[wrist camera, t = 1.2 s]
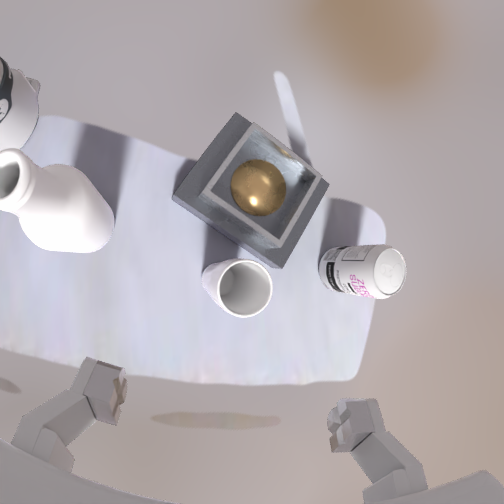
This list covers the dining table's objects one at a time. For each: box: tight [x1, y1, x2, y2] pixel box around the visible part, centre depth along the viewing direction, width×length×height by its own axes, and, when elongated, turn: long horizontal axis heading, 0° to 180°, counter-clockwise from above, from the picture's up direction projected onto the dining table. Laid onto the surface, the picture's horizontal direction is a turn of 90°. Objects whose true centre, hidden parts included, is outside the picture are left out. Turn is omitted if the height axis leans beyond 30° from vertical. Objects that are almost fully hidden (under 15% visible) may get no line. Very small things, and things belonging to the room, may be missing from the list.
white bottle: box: [0, 148, 115, 253], centre depth 28 cm, size 9×9×30 cm
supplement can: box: [319, 244, 406, 299], centre depth 49 cm, size 8×8×15 cm
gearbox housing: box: [172, 113, 329, 269], centre depth 47 cm, size 20×17×8 cm
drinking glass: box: [202, 258, 273, 317], centre depth 41 cm, size 7×7×15 cm
